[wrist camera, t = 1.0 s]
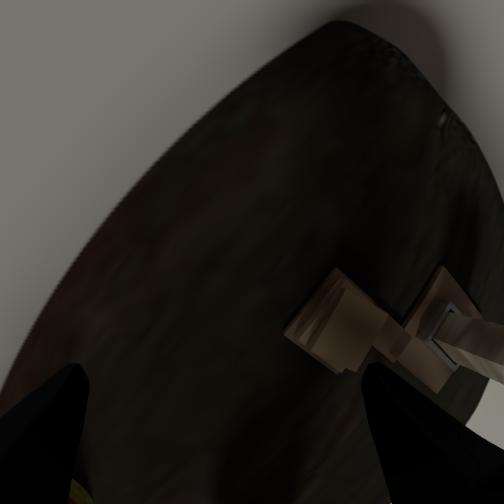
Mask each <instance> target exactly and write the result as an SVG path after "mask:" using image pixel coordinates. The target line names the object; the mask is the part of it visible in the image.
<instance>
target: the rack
mask: <svg viewBox="0 0 504 504" xmlns="http://www.w3.org/2000/svg"><path fill="white" fill-rule="evenodd" d="M340 278H341V279H346V280H347V281H349V282H350V283H351V284H352V285H353V286H354V287H355V288H356V289H357V290H359V291H360V292H361V293H362V294H363V295H364V296H365V297H366V298H367V299H368V300H370V301H371V302H372V303H373V304H374V305H375V306H376V307H377V308H379V309H381V310H382V311H384V310H383V309H382V308H381V307H380V306H379V305H378V304H377V303H376V302H374V301H373V300H372V299H371V298H370V297H369V296H368V295H367V294H366V293H365V292H364V291H362V290H361V289H360V288H359V287H358V286H357V285H356V284H355V283H354V282H353V281H351V280H350V279H349V278H348V277H347V276H346V275H345V274H344V273H342V272H341V271H340V270H339V269H338V268H334V269H333V270H332V271H331V273H330V274H329V275H328V276H327V278H326V279H325V280H324V282H323V283H322V284H321V285H320V287H319V288H318V289H317V290H316V292H315V293H314V294H313V295H312V297H311V298H310V299H309V300H308V302H307V303H306V304H305V305H304V307H303V308H302V309H301V310H300V311H299V313H298V314H297V315H296V316H295V318H294V319H293V320H292V321H291V322H290V324H289V325H288V326H287V327H286V328H285V329H284V331H283V332H282V333H283V334H284V335H285V336H286V337H287V338H289V339H290V340H291V341H293V342H294V343H295V344H296V345H298V346H299V347H300V348H302V349H303V350H304V351H306V352H307V353H308V354H310V355H311V356H312V357H314V358H315V359H316V360H318V361H319V362H321V363H322V364H323V365H325V366H326V367H327V368H329V369H330V370H331V371H333V372H334V373H336V374H337V375H338V373H339V372H340V371H338V370H337V369H336V368H334V367H333V366H331V365H330V364H329V363H327V362H326V361H325V360H323V359H322V358H321V357H319V356H318V355H317V354H315V353H313V352H311V351H310V350H309V349H308V348H307V347H306V346H305V345H303V344H302V343H301V342H300V341H298V340H297V338H296V337H295V336H294V335H295V333H296V332H297V331H298V330H299V329H300V327H301V326H302V325H303V324H304V323H305V321H306V320H307V319H308V318H309V317H310V315H311V314H312V313H313V312H314V310H315V309H316V308H317V307H318V305H319V304H320V303H321V302H322V300H323V299H324V298H325V297H326V295H327V294H328V293H329V292H330V290H331V289H332V288H333V286H334V285H335V284H336V282H337V281H338V280H339V279H340ZM384 312H385V311H384ZM448 312H452V313H456V314H460V315H464V316H468V317H472V318H476V319H480V320H484V319H483V318H482V316H481V315H480V313H479V312H478V310H477V309H476V308H475V306H474V305H473V303H472V302H471V301H470V299H469V298H468V297H467V295H466V294H465V293H464V291H463V290H462V289H461V287H460V286H459V285H458V283H457V282H456V281H455V279H454V278H453V277H452V276H451V274H450V273H449V272H448V271H447V269H446V268H445V267H444V266H439V267H438V269H437V270H436V272H435V274H434V276H433V277H432V279H431V281H430V282H429V284H428V286H427V287H426V289H425V290H424V292H423V294H422V295H421V297H420V298H419V300H418V301H417V303H416V305H415V306H414V308H413V309H412V311H411V312H410V314H409V315H408V316H407V318H406V319H405V321H404V322H403V324H402V325H401V326H400V325H399V324H398V323H397V322H396V321H395V320H394V319H393V318H392V317H390V316H389V315H388V317H387V319H386V321H385V323H384V325H383V327H382V328H381V330H380V332H379V334H378V336H377V337H376V339H375V341H374V343H373V344H372V346H373V347H375V348H376V349H377V350H378V351H379V352H381V353H382V354H383V355H384V356H385V357H387V358H388V359H389V360H390V361H392V362H393V363H394V362H395V361H396V359H397V360H398V361H399V362H400V363H401V364H403V365H404V366H405V367H406V368H407V369H408V370H410V371H411V372H412V373H413V374H414V375H415V376H416V377H418V378H419V379H420V380H421V381H422V382H423V383H425V384H426V385H427V386H428V387H429V388H430V389H431V390H433V391H434V392H435V393H438V392H439V391H440V389H441V388H442V386H443V385H444V384H445V382H446V381H447V379H448V378H449V377H450V375H451V374H452V372H455V371H456V370H457V368H458V367H459V365H460V364H458V363H456V362H454V361H452V360H450V359H449V358H448V357H447V356H446V355H445V354H444V353H443V352H442V351H441V350H440V349H439V348H438V347H437V346H436V345H435V344H434V342H433V341H432V340H431V339H432V337H433V336H434V334H435V332H436V331H437V329H438V328H439V326H440V325H441V323H442V321H443V320H444V318H445V317H446V315H447V313H448Z"/></svg>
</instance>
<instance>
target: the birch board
mask: <svg viewBox="0 0 504 504" xmlns="http://www.w3.org/2000/svg"><path fill="white" fill-rule="evenodd" d="M431 340H432V341H433V342H434V344H435V345H436V346H437V347H438V348H439V349H440V350H441V351H442V352H443V353H444V354H445V355H446V356H447V357H448V358H449V359H450V360H452V361H454V362H456V363H458V364H460V365H463V366H465V367H467V368H469V369H471V370H473V371H476V372H478V373H480V374H482V375H484V376H486V377H489V378H491V379H493V380H496V381H497V382H500V383H502V384H504V325H500V324H496V323H492V322H488V321H484V320H480V319H476V318H472V317H468V316H464V315H460V314H456V313H452V312H448V313H447V315H446V317H445V318H444V320H443V321H442V323H441V325H440V326H439V328H438V329H437V331H436V332H435V334H434V336H433V337H432V339H431Z"/></svg>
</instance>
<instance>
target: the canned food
mask: <svg viewBox="0 0 504 504" xmlns="http://www.w3.org/2000/svg"><path fill="white" fill-rule="evenodd" d="M68 504H93V500H92V498H91V496H90V495H89V493H88V492H87V491H86V490H85V489H84V488H83V487H82V486H81V485H80V484H79V483H78V482H76V481H75V480H73V479H72V481H71V487H70V493H69V500H68Z"/></svg>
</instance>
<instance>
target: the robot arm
mask: <svg viewBox="0 0 504 504" xmlns="http://www.w3.org/2000/svg"><path fill="white" fill-rule="evenodd" d="M89 387H90V384H89V380H88V378H87V376H86V374H85V372H84V370H83V368H82V366H81V365H80V364H77V363H68V364H66V365H65V366H64V367H62V368H61V369H60V370H59V371H57V372H56V373H55V374H54V375H52V376H51V377H50V378H48V379H47V380H46V381H45V382H43V383H42V384H41V385H40V386H38V387H37V388H36V389H35V390H33V391H32V392H31V393H30V394H28V395H27V396H26V397H25V398H23V399H22V400H21V401H20V402H18V403H17V404H16V405H15V406H14V407H12V408H11V409H10V410H9V411H7V412H6V413H5V414H4V415H2V416H1V417H0V504H68V500H69V493H70V487H71V481H72V476H73V471H74V465H75V461H76V456H77V451H78V447H79V442H80V438H81V434H82V430H83V425H84V419H85V412H86V405H87V399H88V393H89ZM361 388H362V393H363V398H364V403H365V407H366V413H367V418H368V423H369V427H370V430H371V434H372V437H373V440H374V443H375V446H376V450H377V453H378V456H379V459H380V463H381V466H382V470H383V473H384V476H385V480H386V484H387V487H388V491H389V494H390V498H391V502H392V504H504V450H503V449H501V448H499V447H498V446H496V445H494V444H492V443H491V442H489V441H487V440H486V439H484V438H482V437H481V436H479V435H477V434H476V433H475V432H473V431H472V430H470V429H469V428H468V427H466V426H465V425H463V424H462V423H461V422H459V421H457V419H455V418H454V417H453V416H451V415H450V414H449V413H447V412H446V411H445V410H443V409H442V408H441V407H439V406H438V405H437V404H435V403H434V402H433V401H431V400H430V399H429V398H427V397H426V396H425V395H424V394H422V393H421V392H420V391H418V390H417V389H416V388H414V387H413V386H412V385H410V384H409V383H408V382H406V381H405V380H404V379H402V378H401V377H400V376H399V375H397V374H396V373H395V372H393V371H392V370H391V369H389V368H388V367H387V366H385V365H384V364H383V363H381V362H376V363H370V364H369V365H368V366H367V368H366V370H365V373H364V375H363V378H362V381H361Z"/></svg>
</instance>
